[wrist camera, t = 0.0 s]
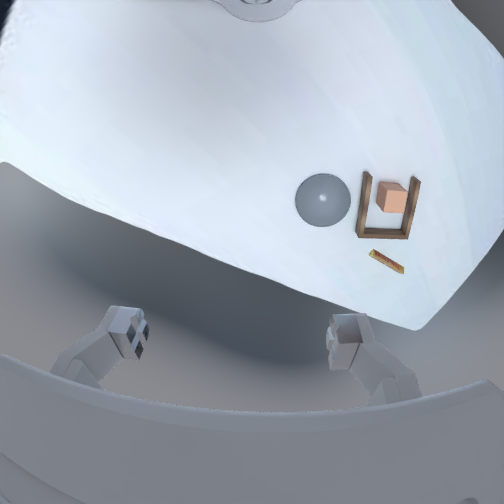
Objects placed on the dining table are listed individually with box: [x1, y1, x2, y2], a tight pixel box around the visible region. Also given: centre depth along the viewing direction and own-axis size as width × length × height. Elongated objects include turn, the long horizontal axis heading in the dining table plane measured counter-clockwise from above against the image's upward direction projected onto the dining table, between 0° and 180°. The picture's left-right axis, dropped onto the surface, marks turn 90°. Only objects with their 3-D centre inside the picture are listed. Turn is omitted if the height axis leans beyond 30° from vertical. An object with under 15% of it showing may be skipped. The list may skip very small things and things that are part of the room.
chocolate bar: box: [369, 249, 404, 274], centre depth 66 cm, size 3×12×2 cm, turn 63°
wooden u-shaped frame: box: [355, 172, 421, 239], centre depth 57 cm, size 14×13×3 cm
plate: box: [296, 174, 351, 227], centre depth 58 cm, size 12×12×1 cm
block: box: [376, 182, 408, 213], centre depth 54 cm, size 5×5×5 cm
